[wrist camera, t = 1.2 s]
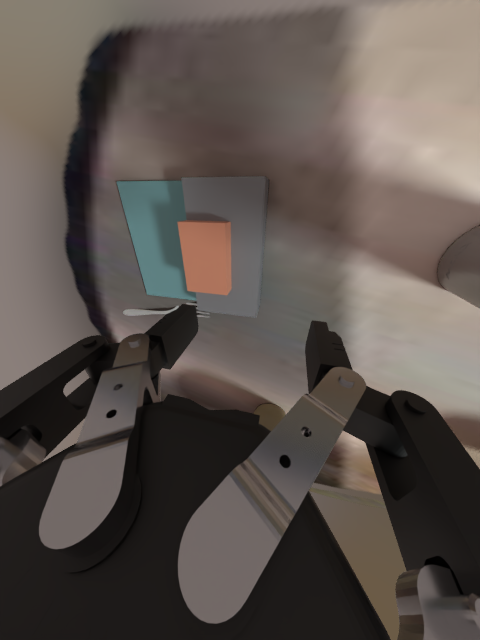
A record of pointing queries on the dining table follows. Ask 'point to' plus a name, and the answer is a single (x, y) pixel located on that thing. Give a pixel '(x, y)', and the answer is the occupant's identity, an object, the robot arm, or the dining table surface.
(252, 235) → the panel
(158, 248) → the mat
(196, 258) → the tile
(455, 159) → the dining table surface
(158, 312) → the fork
